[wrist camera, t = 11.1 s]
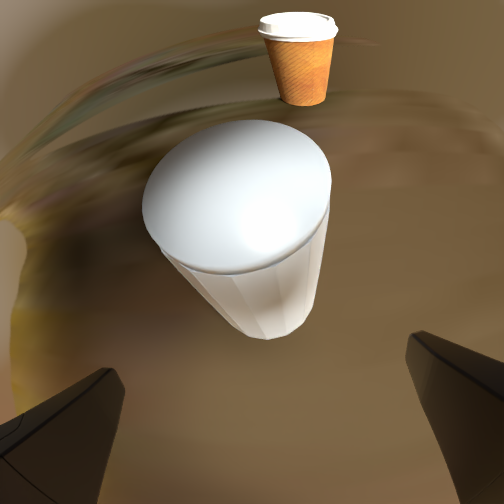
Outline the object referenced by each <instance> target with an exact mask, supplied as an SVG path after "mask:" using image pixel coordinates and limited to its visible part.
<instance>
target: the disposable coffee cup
mask: <svg viewBox="0 0 504 504" xmlns="http://www.w3.org/2000/svg"><path fill="white" fill-rule="evenodd" d="M337 31H338V28H337V27H336V26H335V23H334V20H333V18H331V17H329V16H326V15H322V14H317V13H307V12H288V13H279V14H273V15H269V16H266V17H263V18H262V19H261V20H260V27H259V28H258V32H260V33H261V36H262V37H263V38H264V42H265V45H266V48H267V51H268V54H269V58H270V61H271V64H272V68H273V72H274V75H275V78H276V82H277V86H278V90H279V93H280V97H281V99H282V100H283V101H284V102H286V103H289V104H292V105H298V106H310V105H315V104H318V103H321V102H322V101H323V100H324V99H325V96H326V90H327V83H328V76H329V70H330V63H331V55H332V49H333V42H334V37H335V35H336V33H337Z"/></svg>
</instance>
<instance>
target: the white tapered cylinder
mask: <svg viewBox="0 0 504 504" xmlns="http://www.w3.org/2000/svg"><path fill="white" fill-rule="evenodd" d="M330 189H331V172H330V168H329V164H328V162H327V160H326V157H325V155H324V154H323V152H322V151H321V149H320V148H319V147H318V146H317V145H316V144H315V143H314V142H313V141H312V140H311V139H310V138H309V137H307V136H306V135H305V134H303V133H301V132H300V131H298V130H296V129H294V128H291V127H289V126H286V125H283V124H280V123H275V122H271V121H263V120H240V121H233V122H227V123H223V124H219V125H216V126H213V127H210V128H207V129H205V130H202V131H200V132H198V133H196V134H194V135H192V136H190V137H188V138H187V139H185V140H184V141H182V142H181V143H179V144H178V145H177V146H175V147H174V148H173V149H172V150H171V151H170V152H168V153H167V154H166V155H165V156H164V158H163V159H162V160H161V161H160V162H159V163H158V165H157V166H156V167H155V169H154V170H153V172H152V174H151V175H150V177H149V180H148V182H147V184H146V187H145V190H144V194H143V201H142V213H143V218H144V222H145V225H146V228H147V230H148V232H149V233H150V235H151V237H152V238H153V239H154V240H155V242H156V243H157V244H158V245H159V247H160V249H161V251H162V253H163V254H164V255H165V256H166V257H167V259H168V260H169V261H170V262H171V263H172V264H173V265H174V266H175V267H176V268H177V269H178V271H179V272H180V273H181V274H182V275H183V276H184V277H185V278H186V279H187V280H188V281H189V282H190V283H191V284H192V286H193V287H194V288H195V289H196V290H197V291H198V292H199V293H200V294H201V295H202V296H203V297H204V298H205V299H206V300H207V301H208V302H209V303H210V304H211V305H212V306H213V307H214V308H215V309H216V310H217V311H218V312H219V313H220V314H221V315H222V316H223V317H224V318H225V319H226V320H227V321H228V322H229V323H230V324H231V325H232V326H233V327H234V328H236V329H238V330H239V331H241V332H242V333H244V334H245V335H247V336H248V337H254V338H260V339H267V340H269V339H273V338H277V337H281V336H285V335H288V334H289V333H291V332H292V331H293V330H295V329H296V328H297V327H299V326H300V325H301V324H303V322H304V321H305V319H306V317H307V316H308V314H309V312H310V310H311V309H312V307H313V302H314V297H315V292H316V287H317V282H318V277H319V271H320V266H321V260H322V255H323V249H324V243H325V236H326V230H327V224H328V217H329V203H330Z"/></svg>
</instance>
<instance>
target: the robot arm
mask: <svg viewBox="0 0 504 504" xmlns="http://www.w3.org/2000/svg"><path fill="white" fill-rule="evenodd" d="M406 363H407V366H408V369H409V372H410V374H411V377H412V380H413V383H414V386H415V389H416V392H417V394H418V397H419V400H420V403H421V405H422V407H423V410H424V412H425V414H426V416H427V418H428V421H429V423H430V425H431V427H432V430H433V432H434V434H435V437H436V439H437V441H438V444H439V446H440V449H441V451H442V454H443V456H444V459H445V461H446V464H447V466H448V469H449V472H450V475H451V477H452V480H453V483H454V486H455V489H456V492H457V495H458V498H459V501H460V504H504V363H503V362H500V361H498V360H495V359H493V358H490V357H488V356H485V355H483V354H480V353H478V352H475V351H473V350H470V349H468V348H465V347H463V346H460V345H458V344H455V343H453V342H450V341H448V340H445V339H443V338H440V337H438V336H435V335H433V334H430V333H428V332H426V331H423V330H421V331H417V332H414V333H411V334H410V335H409V338H408V344H407V350H406ZM124 396H125V387H124V385H123V383H122V381H121V380H120V378H119V376H118V374H117V372H116V371H115V370H114V369H113V368H101V369H99V370H97V371H96V372H94V373H92V374H91V375H89V376H87V377H86V378H84V379H82V380H81V381H79V382H77V383H75V384H74V385H72V386H70V387H69V388H67V389H65V390H63V391H62V392H60V393H58V394H56V395H55V396H53V397H51V398H49V399H48V400H46V401H44V402H42V403H41V404H39V405H37V406H35V407H34V408H32V409H30V410H28V411H26V412H25V413H23V414H21V415H19V416H17V417H16V418H14V419H12V420H10V421H8V422H6V423H4V424H2V425H0V504H97V501H98V497H99V493H100V489H101V485H102V481H103V477H104V473H105V470H106V466H107V463H108V459H109V456H110V452H111V449H112V445H113V442H114V439H115V436H116V432H117V428H118V424H119V419H120V414H121V409H122V405H123V400H124Z"/></svg>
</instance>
